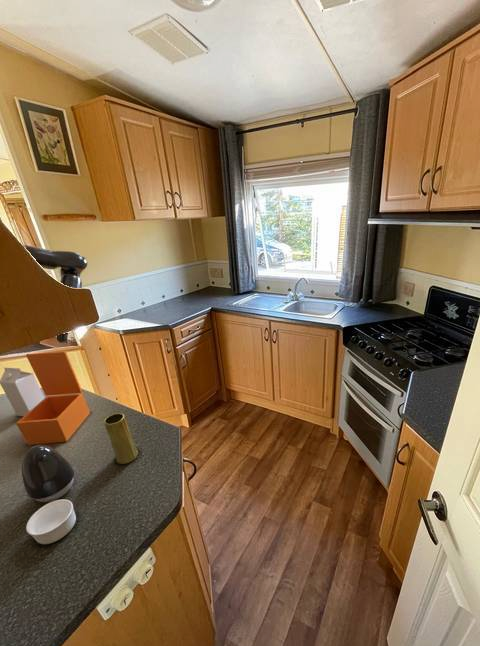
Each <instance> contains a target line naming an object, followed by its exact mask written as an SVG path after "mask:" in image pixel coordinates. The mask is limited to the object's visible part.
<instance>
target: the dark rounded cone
mask: <svg viewBox="0 0 480 646" xmlns="http://www.w3.org/2000/svg"><path fill="white" fill-rule="evenodd" d="M21 476H22V478H21V479H22V482H23V483H22V484H23V486H24V490H25V492H26V495H27V496H28V497H29V498H31V499H33V500H35V501H36V502H40V503H50V502H53V501H56V500H59V499H60V498H61V497H63V496H64V495H66V494H67V493H68V492H69V491H70V489H71V488H72V485H73V483H74V479H75V478H74V477H75V471H74V468H73V467H72V465H71V464H70V462H69V461H68V460H67V459H66V458H65V457H64V456H63V455H62V454H61V453H59V451H58V450H55V449H54V448H52V447H51V446H48V445H46V444H36V445H34V446H31V447H30V448H28V449H27V451H26V452H25V453H24V454H23V457H22V461H21Z"/></svg>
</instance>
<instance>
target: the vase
mask: <svg viewBox="0 0 480 646" xmlns="http://www.w3.org/2000/svg"><path fill="white" fill-rule="evenodd" d="M103 425H104V426H105V429H106V432H107V434H108V437H109V441H110V444H111V447H112V449H113V453H114V455H115V461H116V463H117V464H121V465H125V464H129V463H131V462H133V461H134V460H135V459H136V458H137V457H138V455H139V451H138V448H137V446H136V444H135V442H134V439H133V437H132V434H131V431H130V429H129V425H128V422H127V420H126V416H125V414H124V413H121V412H115V413H112V414H110V415H108V416H106V417H105V418H104V420H103Z"/></svg>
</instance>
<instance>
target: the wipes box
mask: <svg viewBox="0 0 480 646" xmlns="http://www.w3.org/2000/svg"><path fill="white" fill-rule="evenodd" d="M90 414H91V412H90V409H89V407H88V404H87V402H86V399H85V397H84V394H83V393H74V394H62V395H49V396H45V397H44V399H43V400H42V401H41V402H40V403H39V404H38V405H36V406H35V407H34V408H33V409H32V410H31V411H30V412H28V413H27V414H26V415H25V416H22V417H21V418H20V419H19V420H18V421H17V422H16V423H15V425H16V427H18V430H19V431H20V433H21V436H22V437H23V439H24V441H25V443H26V444H27V445H28V446H29V445H43V444H52V443H54V444H55V443H64V442H68V441H69V440H70V438H71V437H72V436H73V435H74V434H75V433H76V432H77V430H78V429H79V427H80V426H81V425H82V424H83V423H84V422H85V420H86V419H87V418H88V416H89V415H90Z"/></svg>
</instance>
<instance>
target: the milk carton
mask: <svg viewBox="0 0 480 646" xmlns="http://www.w3.org/2000/svg"><path fill="white" fill-rule="evenodd" d="M3 369H4V372H3V374H2V375H1V378H0V386H1V388H2V390H3V392H4V394H5V395H6V398H7V399H8V400H9V404H10V405H11V407H12V409H13V411H14V413H15V414H16V417H24V416H25V415H26V414H27V413H28V412H30V411H31V410H32V409H33V408H34V407H35V406H36V405H38V404H39V403H40V402H41V401H42V400H43V399H44V398H45V396H44V393H43V392H42V388H40V387H41V386H40V384H39V382H38V380H37V378H36V376H35V373H32V372H28V371H22V369H21V368H19V367H5V366H4V367H3Z"/></svg>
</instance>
